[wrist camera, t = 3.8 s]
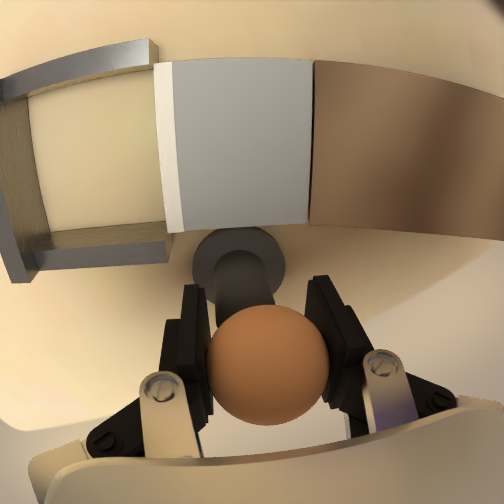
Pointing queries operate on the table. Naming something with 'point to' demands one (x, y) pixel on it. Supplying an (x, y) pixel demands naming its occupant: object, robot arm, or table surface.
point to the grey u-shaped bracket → (27, 187)
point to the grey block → (234, 141)
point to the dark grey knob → (238, 269)
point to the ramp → (405, 153)
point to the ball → (267, 365)
